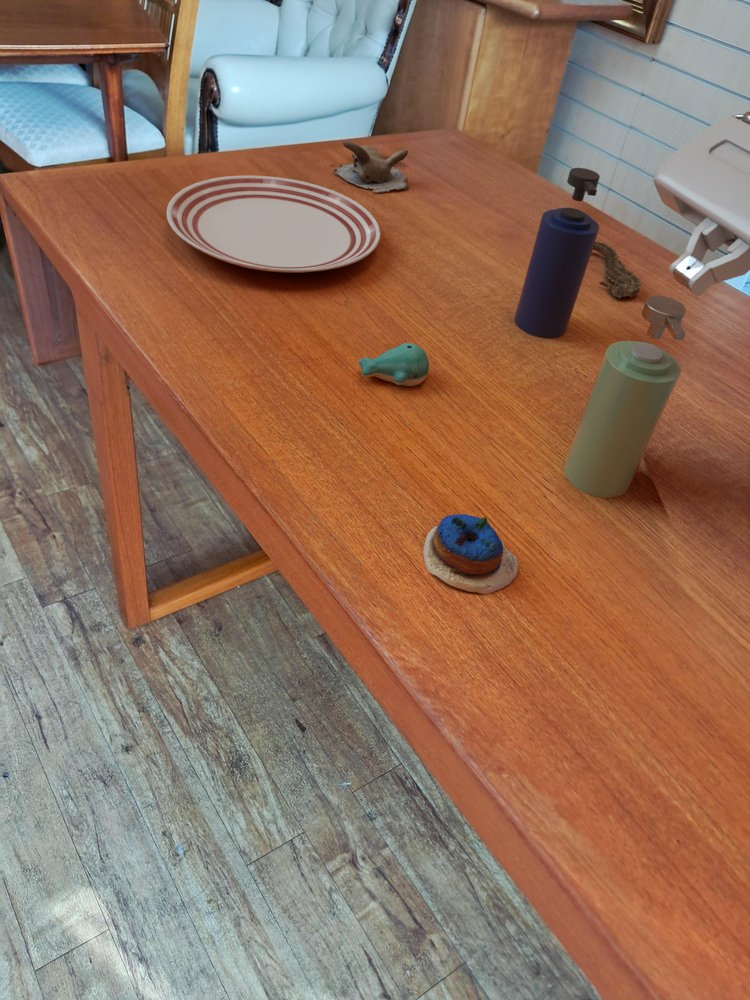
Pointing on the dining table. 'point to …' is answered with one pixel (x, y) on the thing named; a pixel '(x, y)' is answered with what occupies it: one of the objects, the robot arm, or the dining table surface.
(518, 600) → the dining table surface
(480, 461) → the dining table surface
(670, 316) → the grey round-capped part
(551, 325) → the bottle navy
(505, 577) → the dessert
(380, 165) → the skull
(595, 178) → the black dispenser pump head
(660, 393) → the bottle green
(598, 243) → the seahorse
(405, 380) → the whale figurine
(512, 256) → the dining table surface
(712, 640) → the dining table surface
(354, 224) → the dinner plate
